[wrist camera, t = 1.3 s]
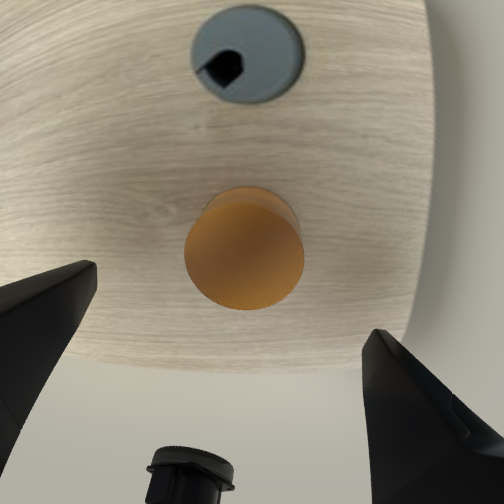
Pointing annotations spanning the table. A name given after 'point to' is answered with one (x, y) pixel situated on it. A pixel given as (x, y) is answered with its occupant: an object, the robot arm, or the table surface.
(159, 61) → the table surface
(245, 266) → the cylinder
